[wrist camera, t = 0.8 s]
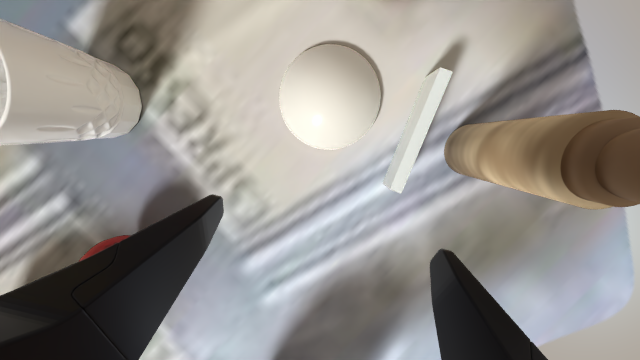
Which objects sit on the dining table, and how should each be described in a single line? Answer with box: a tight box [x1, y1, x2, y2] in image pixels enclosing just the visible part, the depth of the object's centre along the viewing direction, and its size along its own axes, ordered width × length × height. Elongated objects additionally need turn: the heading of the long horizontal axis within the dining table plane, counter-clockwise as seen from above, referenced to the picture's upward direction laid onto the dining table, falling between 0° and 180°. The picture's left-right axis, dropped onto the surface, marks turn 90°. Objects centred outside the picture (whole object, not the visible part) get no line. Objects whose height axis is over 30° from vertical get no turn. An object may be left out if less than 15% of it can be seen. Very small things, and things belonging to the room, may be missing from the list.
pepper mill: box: [444, 110, 640, 209], centre depth 15 cm, size 5×5×14 cm
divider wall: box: [383, 67, 453, 193], centre depth 21 cm, size 10×1×3 cm, turn 161°
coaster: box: [279, 44, 381, 150], centre depth 22 cm, size 9×9×1 cm
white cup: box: [0, 18, 142, 145], centre depth 18 cm, size 8×8×10 cm
